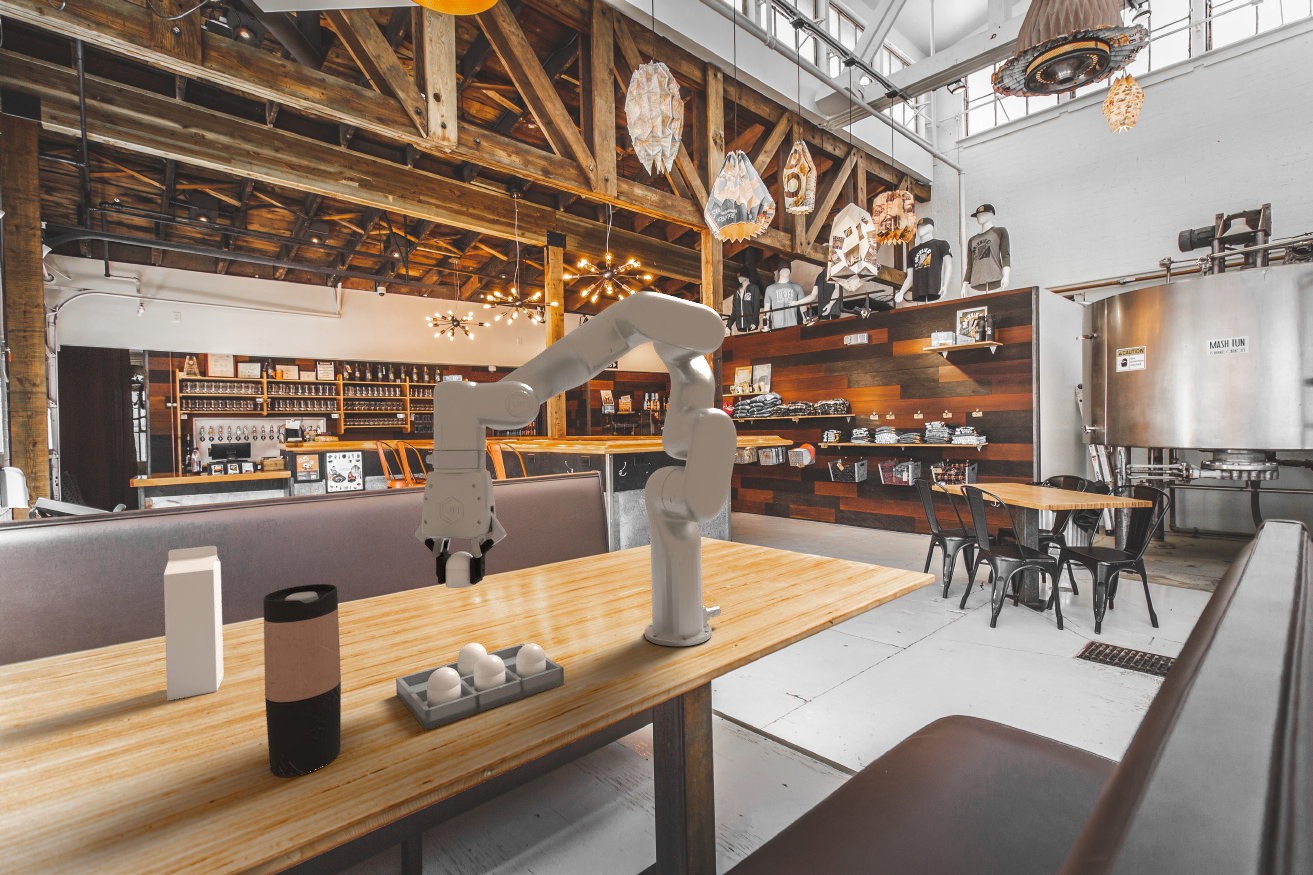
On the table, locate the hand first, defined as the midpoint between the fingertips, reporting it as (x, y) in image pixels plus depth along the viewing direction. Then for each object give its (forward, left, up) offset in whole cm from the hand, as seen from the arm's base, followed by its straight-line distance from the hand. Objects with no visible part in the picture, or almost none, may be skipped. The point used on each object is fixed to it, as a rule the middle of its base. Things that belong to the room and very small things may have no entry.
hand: (460, 580), depth 87 cm
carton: (-2, +3, -16) cm, 16 cm away
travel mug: (+22, +7, -16) cm, 28 cm away
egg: (0, 0, -1) cm, 1 cm away
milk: (+32, -28, -16) cm, 45 cm away
